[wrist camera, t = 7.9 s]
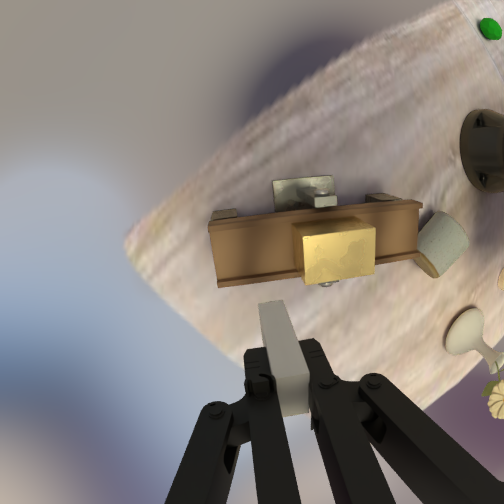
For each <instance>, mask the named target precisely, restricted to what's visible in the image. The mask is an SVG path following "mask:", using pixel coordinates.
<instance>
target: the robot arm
mask: <svg viewBox="0 0 504 504" xmlns="http://www.w3.org/2000/svg"><path fill="white" fill-rule="evenodd" d="M460 149H461V157H462V162H463V166H464V169H465V172H466V174H467V176H468V178H469V180H470V181H471V183H472V184H473V185H474V186H475V187H476V188H477V189H479V190H481V191H485V192H489V193H498V192H503V191H504V115H502V114H499V113H497V112H495V111H492V110H488V109H479V110H474V111H472V112H471V113H470V114H469V115H468V116H467V117H466V119H465V121H464V123H463V127H462V131H461V138H460ZM258 307H259V315H260V324H261V332H262V340H263V345H264V347H261V348H253V349H247V350H246V352H245V354H244V367H245V377H246V379H245V382H244V386H245V392H246V394H245V396H244V397H243V398H242V399H241V400H239V401H237V402H235V403H232V404H230V405H228V404H227V403H225V402H221V401H215V402H211V403H208V404H207V405H205V406H204V407H203V409H202V410H201V412H200V415H199V417H198V420H197V423H196V425H195V428H194V430H193V433H192V435H191V438H190V440H189V444H188V446H187V448H186V451H185V453H184V456H183V458H182V461H181V463H180V466H179V468H178V471H177V474H176V476H175V478H174V481H173V483H172V486H171V488H170V491H169V493H168V496H167V498H166V501H165V504H226V502H227V498H228V494H229V491H230V487H231V483H232V479H233V475H234V471H235V467H236V463H237V459H238V455H239V451H240V447H241V445H242V444H244V443H246V442H249V441H251V445H252V455H253V463H254V473H255V482H256V490H257V498H258V504H301V500H300V495H299V490H298V486H297V481H296V477H295V472H294V468H293V463H292V458H291V454H290V449H289V445H288V440H287V436H286V431H285V426H284V422H283V417H287V416H293V415H298V414H304V413H309V408H310V411H311V430H313V429H314V432H315V435H316V439H317V442H318V445H319V449H320V452H321V455H322V459H323V462H324V466H325V469H326V472H327V476H328V479H329V482H330V486H331V489H332V493H333V496H334V500H335V503H336V504H396V502H395V500H394V498H393V495H392V493H391V491H390V488H389V486H388V484H387V481H386V479H385V477H384V474H383V472H382V470H381V467H380V465H379V463H378V460H377V458H376V456H375V453H374V451H373V449H372V447H371V444H372V445H373V446H374V448H375V449H376V450H377V451H378V452H379V453H380V455H381V456H382V457H383V458H384V459H385V461H386V462H387V463H388V464H389V465H390V466H391V468H392V469H393V470H394V471H395V472H396V473H397V474H398V476H399V477H400V478H401V479H402V480H403V481H404V482H405V484H406V485H407V486H408V487H409V488H410V489H411V490H412V492H413V493H414V494H415V495H416V496H417V497H418V498H419V499H420V501H421V502H422V503H423V504H504V482H501V481H499V480H497V479H496V478H495V477H494V476H493V475H492V474H491V473H490V472H489V471H488V470H487V469H485V468H484V467H483V466H482V465H481V464H480V463H479V462H478V461H477V460H475V459H474V458H473V457H472V456H471V455H470V454H469V453H468V452H467V451H466V450H465V449H464V448H462V447H461V446H460V445H459V444H458V443H457V442H456V441H455V440H454V439H453V438H451V437H450V436H449V435H448V434H447V433H446V432H445V431H444V430H443V429H442V428H441V427H439V426H438V425H437V424H436V423H435V422H434V421H433V420H432V419H431V418H430V417H428V416H427V415H426V414H425V413H424V412H423V411H422V410H421V409H420V408H419V407H418V406H417V405H415V404H414V403H413V402H412V401H411V400H410V399H409V398H408V397H407V396H406V395H405V394H403V393H402V392H401V391H400V390H399V389H398V388H397V387H396V386H395V385H394V384H393V383H391V382H390V381H389V380H388V379H387V378H386V377H385V376H383V375H381V374H378V373H369V374H366V375H364V376H363V377H362V378H361V380H360V381H344V380H341V379H340V378H339V377H338V376H336V375H335V374H334V373H333V371H332V369H331V366H330V364H329V362H328V360H327V358H326V356H325V353H324V351H323V349H322V347H321V345H320V343H319V342H318V341H316V340H315V339H314V338H312V339H306V340H301V341H298V339H297V337H296V334H295V331H294V329H293V326H292V323H291V320H290V318H289V315H288V312H287V309H286V307H285V304H284V301H283V300H279V301H273V302H266V303H259V304H258ZM370 443H371V444H370Z"/></svg>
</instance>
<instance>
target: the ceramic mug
mask: <svg viewBox="0 0 504 504" xmlns="http://www.w3.org/2000/svg"><path fill="white" fill-rule="evenodd" d="M468 247H469V239H468V236H467V234H466V233H465V231H464V229H463V228H462V227H461V225H460V224H459V223H458V222H457V221H456V220H455V219H454V218H453V217H451V216H450V215H448V214H446V213H445V212H442V211H437V212H436V213H435V214H434V215H433V217H432V218H431V219H430V220H429V221H428V223H427V224H426V225H425V226H424V227H423V229H422V230H421V231H420V232H419V233H418V241H417V251H419V252H420V257H418V258H413V259H414V261H415V262H416V263H417V264H418V265H419V266H420V268H421V269H422V270H423V271H424V272H425V273H426V274H428V275H429V276H430V277H432V278H438V277H440V276H441V275H442V274H444V273H445V272H446V271H447V270H448V269H449V268H450V266H451V265H452V264H453V263H454V262H455V261H456V260H457V259H458V258H459V257H460V256H461V255H462V254H463V252H464V251H465V250H466V249H467V248H468Z"/></svg>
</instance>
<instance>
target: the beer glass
mask: <svg viewBox="0 0 504 504" xmlns="http://www.w3.org/2000/svg"><path fill="white" fill-rule="evenodd" d="M498 287H499V289H501V290H503V291H504V268H503V269H502V271H501V273H500V276H499V279H498Z"/></svg>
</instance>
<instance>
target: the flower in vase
mask: <svg viewBox="0 0 504 504" xmlns="http://www.w3.org/2000/svg"><path fill="white" fill-rule="evenodd" d="M483 329H484V316H483V313H482V311H481V310H480V309H478V308H473V309H469V310H467V311H465V312H464V313H462V314H461V315H460V316H459V317H458V318H457V319H456V321H455V322H454V323H453V325H452V326H451V328H450V330H449V332H448V335H447V338H446V350H447V352H448V353H449V354H452V355H460V354H464V353H466V352H468V351H471V350H476V351H478V352H479V353H480V354H481V355H482V356H483V357H484V358H485V359H486V361H487V363H488V365H489V369H490V374H494V373H495V372H497V371H498V378H499V382H498V381H490V382H489V383H488V384H487V385H486V387H485V389H484V391H483V393H482V396H488V395H490V398H489V402H488V406H489V408H490V412H491V413H492V416H493V417H494V418H497V417H498V418H499V419H502V418H503V419H504V380H501V382H500V374H499V369H500V368H501V366H502V365H503V364H504V352H497V351H495V350H493V349H492V348H491V347H489V346H488V345H487V344H486V343H485V342H484V341H483V338H482V335H483ZM503 370H504V369H503ZM503 370H501V371H503Z"/></svg>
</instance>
